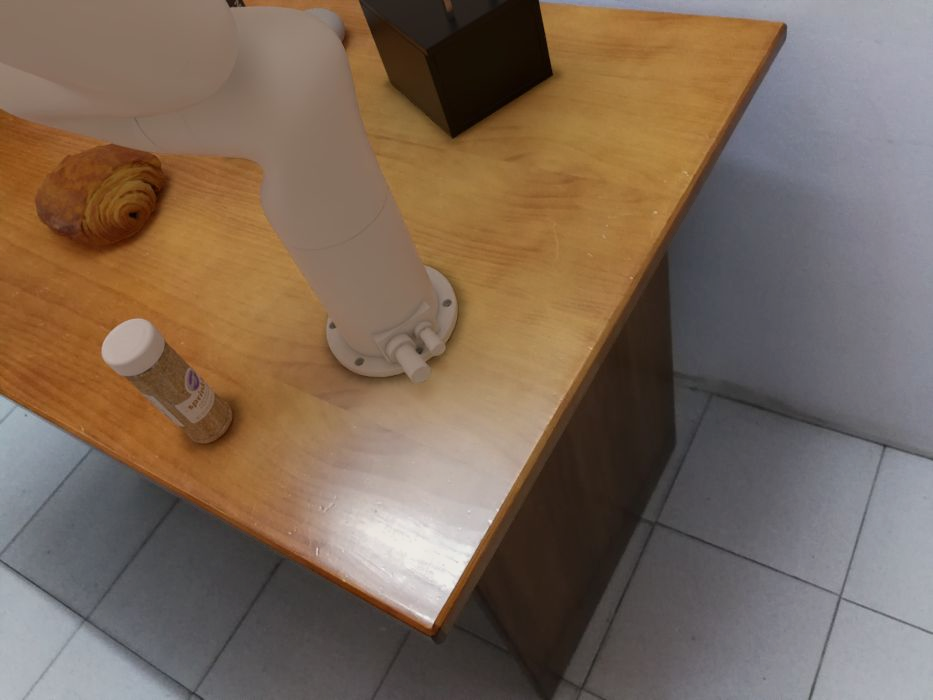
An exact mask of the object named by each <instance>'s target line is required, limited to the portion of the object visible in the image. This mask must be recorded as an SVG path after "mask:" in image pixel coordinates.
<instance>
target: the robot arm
mask: <svg viewBox="0 0 933 700" xmlns="http://www.w3.org/2000/svg"><path fill="white" fill-rule="evenodd" d="M303 11H304V10H301V9H296V8H291V7H285V6H277V5H276V6H275V5H253V6H246V7H231V8H230V7H229V5H228V4H227V2H226V0H0V110H2V111H5V112H6V113H7V114H10V115H12V116H15V117H16V118H19V119H22V120H25V121H28V122H31V123H34V124H37V125H41V126H45V127H48V128H52V129H55V130H60V131H62V132H63V131H64V132H67V133H70V134H74V135H78V136H81V137H85V138H89V139H93V140H97V141H100V142H104V143H107V144H108V143H109V144H115V145H119V146H123V147H127V148H131V149H136V150H140V151H145V152H150V153H152V154H159V155H171V156H192V157H193V156H196V157H221V158H230V159H231V158H233V159H234V158H235V159H244V160H248V161H251V162H253V163H255V164H257V165H258V166H259V167H260V168H261V170H262V173H263V176H262V179H261V183H260V185H259V202H260V206H261V209H262V212H263V214H264V216H265V219H266V220H267V222H268V223H269V226H270V227H271V229H272V230H273V231H274V233H275V235H276V236H277V238H278V239H279V241H280V242H281V243H282V245H283V247H284V249H285V250H286V252H287V253H288V255H289V256H290V257H291V259H292V261H293V262H294V264H295V265H296V267H297V268H298V270H299V271H300V273H301V274H302V277H303V278H304V280H305V281H306V282H307V284H308V286H309V287H310V289H311V290H312V292H313V293H314V295H315V296H316V299H318V301H319V303H320V305H321V306H322V307H323V309H324V310H325V312H326V314H327V315H328V316H327V319H326V325H325V333H326V334H325V336H326V342H327V345H328V347H329V349H330V351H331V353H332V354H333V356H334V357H335V359H336V360H337V361H338V362H339V363H340V365H341V366H343V367H344V368H346V369H347V370H349V371H350V372H353V373H354V374H357V375H361V376H366V377H369V378H371V377H372V378H386V377H387V378H388V377H392V376H398V375H401V374H403V373H404V374H406V375H407V377H408V378H409V379H410V381H411V383H413V384H416V385H419V384H422V383H424V382H426V381H427V380H428V379H429V378H430V377H431V374H432V368H431V367H430V365H429V364H428V363H427V361H429V360H430V359H431V358H433V357H439V356H441V355H442V354H443V353H445V352H446V349H447V344H446V343H447V342H448V341H449V339H450V338H451V336H452V333H453V331H454V329H455V327H456V325H457V324H456V323H457V319H458V316H459V314H458V313H459V305H458V300H457V295H456V293H455V290H454V289H453V286H452V284H451V282H450V281H449V280H448V279H447V277H446V276H444V275H443V274H442V272H440V271H438V270H437V269H435V268H433V267H431V266H428V265H425V264H424V261H423V260H422V257H421V255H420V253H419V250H418V249H417V246H416V244H415V242H414V240H413V237H412V235H411V233H410V230H409V228H408V226H407V224H406V221H405V219H404V217H403V215H402V213H401V210H400V208H399V206H398V204H397V201H396V199H395V197H394V194H393V192H392V190H391V188H390V185H389V183H388V181H387V179H386V177H385V175H384V172H383V171H382V168H381V166H380V164H379V162H378V160H377V159H378V158H377V157H376V154H375V151H374V149H373V147H372V144H371V142H370V139H369V136H368V133H367V131H366V128H365V124H364V121H363V118H362V114H361V110H360V105H359V102H358V97H357V96H358V95H357V92H356V88H355V81H354V77H353V73H352V72H353V71H352V67H351V65H350V59H349V57H348V54H347V52H346V49H345V47H344V45H343V42H341V40H340V39H339V37H338V36H337V35H336V33H335V32H334V31H333V30H332V29H331V28H330V27H329V26H328V25H327V24H326V23H325V22H323V21H322V20H320V19H319V18H317V17H315V16H313V15H311V14H309V13H306V12H303Z"/></svg>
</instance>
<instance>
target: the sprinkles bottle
mask: <svg viewBox="0 0 933 700" xmlns="http://www.w3.org/2000/svg"><path fill="white" fill-rule="evenodd" d="M100 352H101V357H102V359H103V361H104V362H105V364H107V365H108V366H109V368H111V369H112V370H113V371H114V372H115V373H116V374H117V375H118V376H119V375H120V376H121V377H123V378H125V379H126V380H128V381H129V382H130V384H132V385H133V387H135V388H136V389H137V390H138V391H139V392H140V394H142V396H143V397H145V398H146V399H147V400H148V401H149V402H150V403H151V405H153V406H154V407H155V408H156V409H158V411H160V412H161V413H162V414H163V415H164V416H166V417H167V419H169V420H170V421H171V422H172V423H174V424H175V425H176V426H178V427H179V428H180V429H181V430H182V431H183V432H184V433H185V434H186V435H187V437H188V438H189V439H190V440H191V441H192V442H193V443H197V444H210V443H212V442H215V441H216V440H218V439H219V438H220V437H221V438H222V436H223V435H225V433H226V432H227V430H229V427H230V425H231V423H232V421H233V410H232V408H231V406H230V405H229V403H228V402H226V401H224V400H223V399H222V398H221V397H220V396H219V395H218V393H216V392H215V391H214V388H212V387H211V386H210V385H209V383H208V382H207V381H206V380H205V379H204V378H203V377H202V376H201V375H200V374H199V373H198V372H197V371H196V370H195V369H194V368H193V367H191V366H190V365H189V363H187V362H186V361H185V359H184V358H183V357H181V355H180V354H179V353H178V352H177V351H176V350H175V349H174V348H173V347H172V346H171V345H170V344H169V343H168V342H167V341H166V339H165V337H164V335H163V333H161V332H160V330H159V329H158V328H157V327H156V326H155V325H154V324H153V323H152V322H151V321H149V320H147V319H145V318H131V319H128V320H125V321H123V322H121V323H120V324H118V325H117V326H115V327H113V329H112V330H110V332H109V333H108V334H107V335H106V337H105V338H104V340H103V343H102V345H101V350H100Z"/></svg>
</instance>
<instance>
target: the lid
mask: <svg viewBox="0 0 933 700" xmlns="http://www.w3.org/2000/svg"><path fill="white" fill-rule="evenodd" d="M359 1H360V2H361V3H362V4H363V5H365V6H366V7H367V8H368V9H370V10H371V11H372V12H373V13H375V14H376V15H377V16H378V17H379V18H381V19H382V20H383V21H384V22H386V23H387V24H388V25H389V26H391V27H392V28H393V29H394V30H396V31H397V32H398V33H399V34H401V35H402V36H403V37H404V38H406V39H407V40H408V41H409V42H411V43H412V44H413V45H414V46H416V47H417V48H418V49H419V50H421V51H422V52H423V53H424V54H426V55H427V56H428V57H429V56H430V55H432V54H434V53H435V52H437V51H439V50H440V49H442V48H444V47H445V46H447V45H448V44H450V43H452V42H453V41H455V40H457V39H458V38H460V37H462V36H463V35H465V34H466V33H468V32H470V31H471V30H473V29H475V28H476V27H478V26H480V25H481V24H483V23H485V22H486V21H488V20H489V19H491V18H493V17H494V16H496V15H498V14H499V13H501V12H503V11H504V10H506V9H507V8H509V7H511V6H512V5H514V4H516V3H517V2H519V1H521V0H358V2H359Z"/></svg>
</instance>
